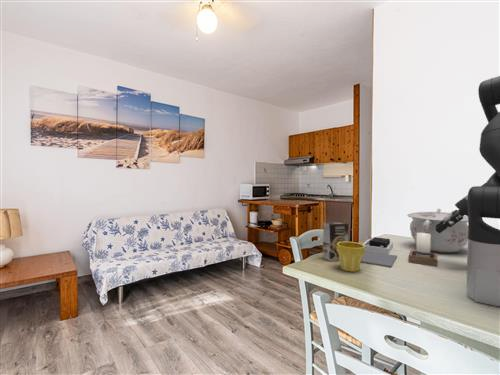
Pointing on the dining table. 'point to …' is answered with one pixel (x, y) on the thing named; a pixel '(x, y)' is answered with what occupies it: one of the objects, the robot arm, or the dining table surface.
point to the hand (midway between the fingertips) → (437, 229)
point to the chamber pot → (447, 239)
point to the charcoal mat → (378, 259)
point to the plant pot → (350, 255)
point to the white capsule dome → (423, 245)
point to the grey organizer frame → (378, 248)
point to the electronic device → (379, 242)
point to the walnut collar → (423, 259)
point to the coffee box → (333, 239)
